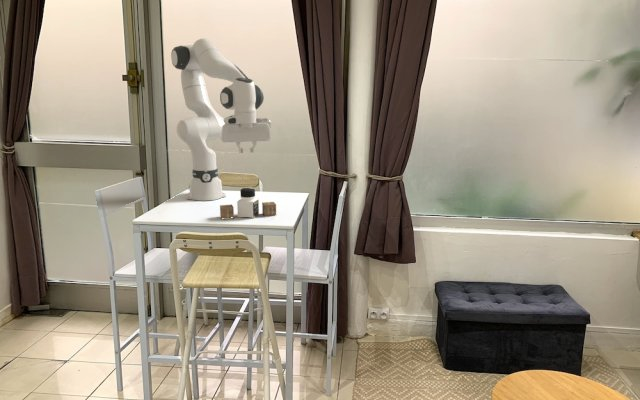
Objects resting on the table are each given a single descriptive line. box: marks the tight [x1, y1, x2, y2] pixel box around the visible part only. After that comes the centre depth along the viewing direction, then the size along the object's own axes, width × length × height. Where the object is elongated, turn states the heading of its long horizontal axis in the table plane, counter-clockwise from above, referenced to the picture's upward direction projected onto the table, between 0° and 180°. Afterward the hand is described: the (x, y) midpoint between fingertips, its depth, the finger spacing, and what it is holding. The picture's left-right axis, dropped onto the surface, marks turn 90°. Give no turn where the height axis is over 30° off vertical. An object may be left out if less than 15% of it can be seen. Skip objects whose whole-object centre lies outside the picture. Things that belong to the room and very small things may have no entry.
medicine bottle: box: [236, 187, 260, 219], centre depth 227 cm, size 7×7×12 cm
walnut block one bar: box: [219, 204, 235, 219], centre depth 225 cm, size 5×5×5 cm
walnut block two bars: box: [261, 201, 277, 217], centre depth 230 cm, size 5×5×5 cm
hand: (246, 152), depth 222 cm, fingers open, 3 cm apart
